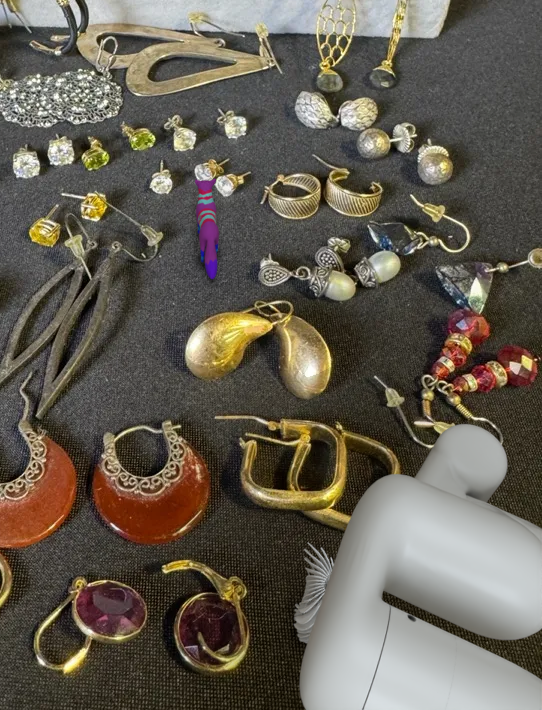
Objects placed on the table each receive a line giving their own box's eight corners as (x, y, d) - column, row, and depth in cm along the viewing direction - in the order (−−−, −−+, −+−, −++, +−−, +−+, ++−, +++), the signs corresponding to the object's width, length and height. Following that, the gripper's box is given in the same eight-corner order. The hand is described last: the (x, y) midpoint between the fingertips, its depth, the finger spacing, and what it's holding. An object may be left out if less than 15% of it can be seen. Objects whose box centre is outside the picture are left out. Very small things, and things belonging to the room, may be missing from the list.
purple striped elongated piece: (211, 208, 150) (214, 168, 142) (222, 284, 138) (226, 245, 130) (191, 209, 150) (193, 169, 142) (201, 285, 138) (203, 246, 130)
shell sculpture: (352, 661, 100) (382, 617, 86) (285, 656, 100) (305, 611, 86) (346, 591, 105) (374, 540, 92) (283, 587, 105) (301, 535, 92)
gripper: (384, 528, 91) (354, 581, 105) (516, 532, 91) (469, 585, 105) (374, 466, 96) (347, 524, 110) (500, 469, 96) (457, 528, 110)
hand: (407, 554), depth 108 cm, fingers closed
